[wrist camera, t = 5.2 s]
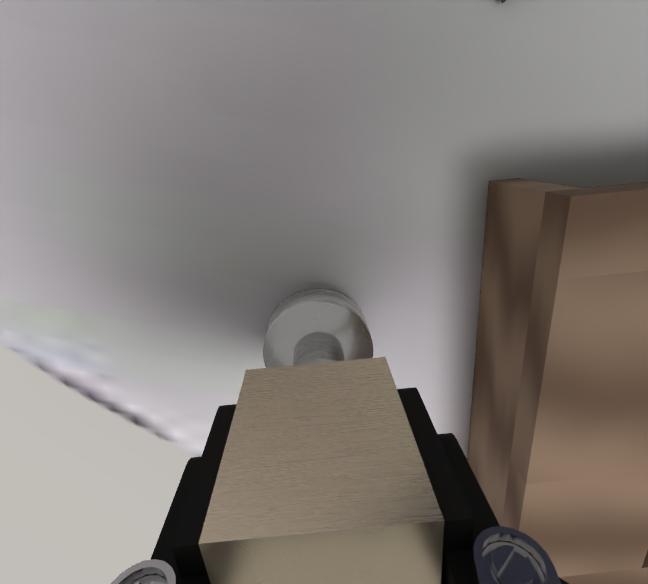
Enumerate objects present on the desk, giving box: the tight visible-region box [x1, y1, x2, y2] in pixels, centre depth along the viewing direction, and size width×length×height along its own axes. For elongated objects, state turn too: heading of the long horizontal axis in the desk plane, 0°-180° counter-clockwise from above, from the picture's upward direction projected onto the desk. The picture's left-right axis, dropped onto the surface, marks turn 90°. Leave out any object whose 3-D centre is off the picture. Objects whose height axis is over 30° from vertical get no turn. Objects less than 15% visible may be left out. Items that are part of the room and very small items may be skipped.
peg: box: [199, 289, 444, 584], centre depth 12 cm, size 4×4×10 cm
